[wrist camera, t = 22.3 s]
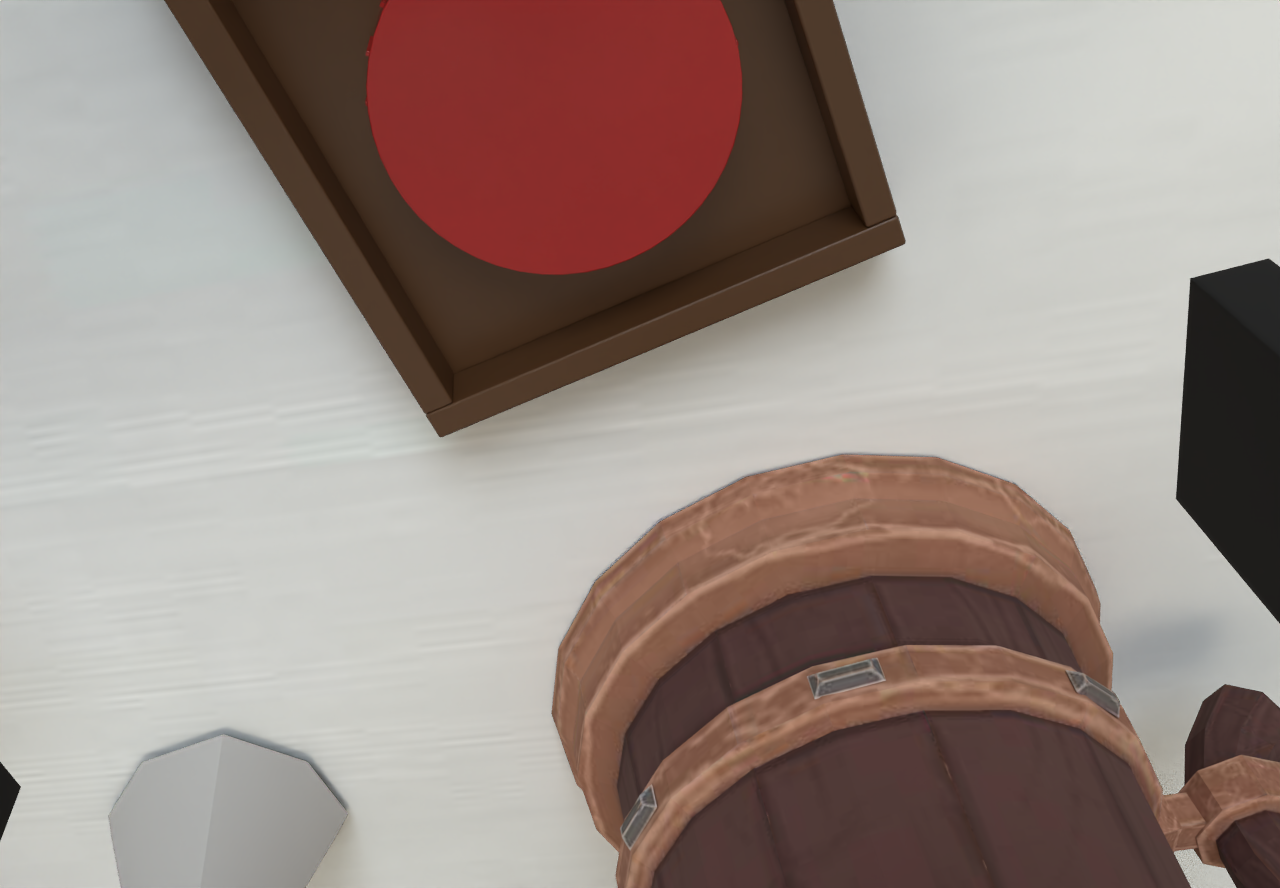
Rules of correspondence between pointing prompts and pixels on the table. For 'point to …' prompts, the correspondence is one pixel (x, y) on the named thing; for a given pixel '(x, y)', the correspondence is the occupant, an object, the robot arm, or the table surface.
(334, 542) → the table surface
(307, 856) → the flask
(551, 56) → the lid
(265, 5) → the tray
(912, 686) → the mug
